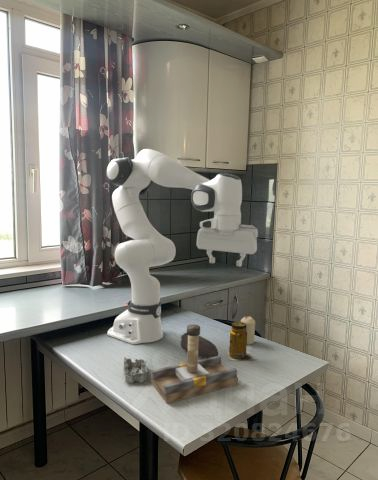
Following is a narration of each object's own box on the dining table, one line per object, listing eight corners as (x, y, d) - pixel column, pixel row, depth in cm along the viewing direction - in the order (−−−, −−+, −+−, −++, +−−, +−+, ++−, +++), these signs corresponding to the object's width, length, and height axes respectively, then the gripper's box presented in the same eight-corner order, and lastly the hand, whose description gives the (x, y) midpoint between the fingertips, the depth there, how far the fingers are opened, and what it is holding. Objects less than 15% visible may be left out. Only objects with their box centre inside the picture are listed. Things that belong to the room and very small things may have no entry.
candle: (237, 342, 146) (238, 317, 144) (243, 337, 150) (244, 313, 149) (250, 346, 143) (251, 320, 141) (256, 341, 147) (257, 316, 146)
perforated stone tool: (221, 359, 131) (222, 340, 130) (213, 364, 127) (214, 345, 126) (188, 347, 140) (188, 329, 139) (179, 351, 136) (179, 333, 135)
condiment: (226, 351, 137) (227, 320, 136) (249, 351, 138) (250, 320, 136) (230, 361, 130) (232, 328, 128) (254, 360, 131) (256, 328, 129)
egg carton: (123, 367, 124) (123, 356, 124) (146, 366, 125) (146, 354, 125) (123, 384, 114) (123, 371, 113) (148, 383, 115) (148, 370, 114)
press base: (166, 403, 104) (166, 388, 104) (150, 382, 115) (150, 369, 114) (238, 384, 115) (238, 370, 115) (217, 366, 126) (218, 354, 125)
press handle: (185, 385, 109) (186, 333, 107) (175, 374, 115) (176, 325, 113) (209, 379, 113) (211, 329, 111) (198, 369, 119) (199, 321, 117)
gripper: (260, 224, 122) (258, 266, 124) (202, 220, 130) (201, 259, 132) (255, 226, 116) (253, 270, 119) (195, 222, 125) (194, 262, 127)
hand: (225, 264), depth 126 cm, fingers open, 8 cm apart
